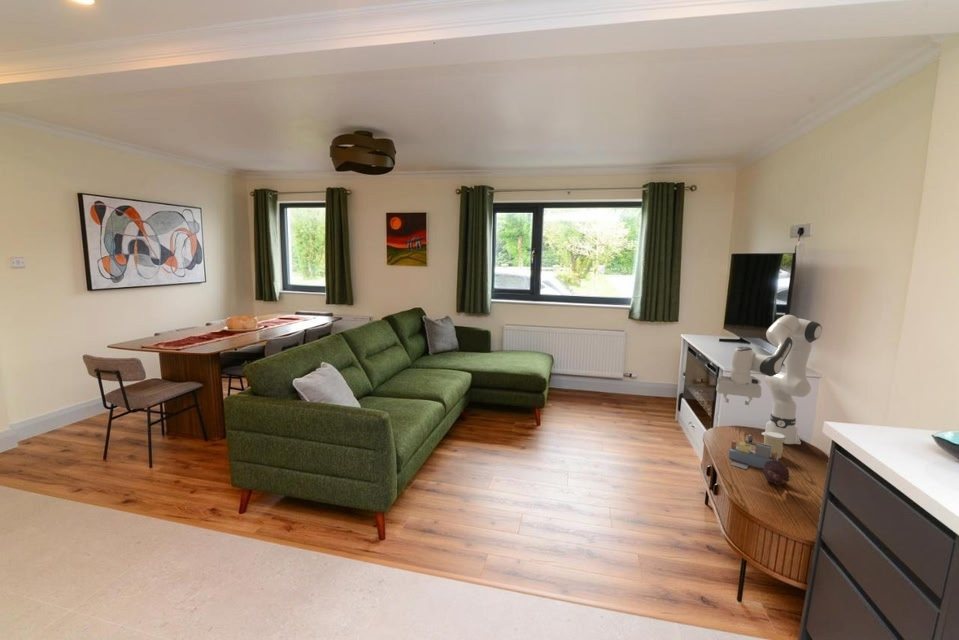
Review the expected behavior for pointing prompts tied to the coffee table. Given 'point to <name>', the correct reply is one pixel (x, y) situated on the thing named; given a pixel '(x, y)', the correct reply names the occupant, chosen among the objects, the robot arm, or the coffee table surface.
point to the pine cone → (776, 472)
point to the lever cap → (744, 447)
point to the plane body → (753, 455)
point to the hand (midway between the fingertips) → (736, 403)
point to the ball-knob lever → (750, 439)
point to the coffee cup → (775, 442)
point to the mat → (739, 465)
